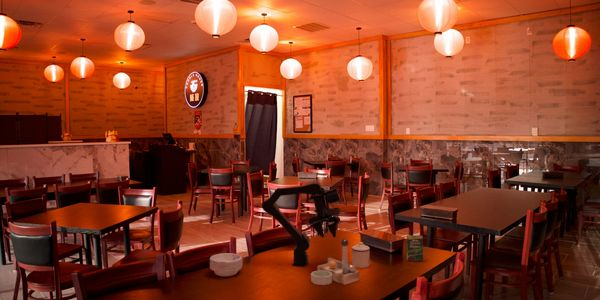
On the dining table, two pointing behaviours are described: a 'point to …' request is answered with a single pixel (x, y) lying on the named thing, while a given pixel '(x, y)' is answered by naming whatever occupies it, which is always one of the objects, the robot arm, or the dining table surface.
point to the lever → (344, 259)
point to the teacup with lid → (361, 255)
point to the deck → (340, 274)
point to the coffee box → (415, 248)
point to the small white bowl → (321, 277)
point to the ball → (332, 264)
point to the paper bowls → (225, 264)
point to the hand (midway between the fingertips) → (329, 237)
